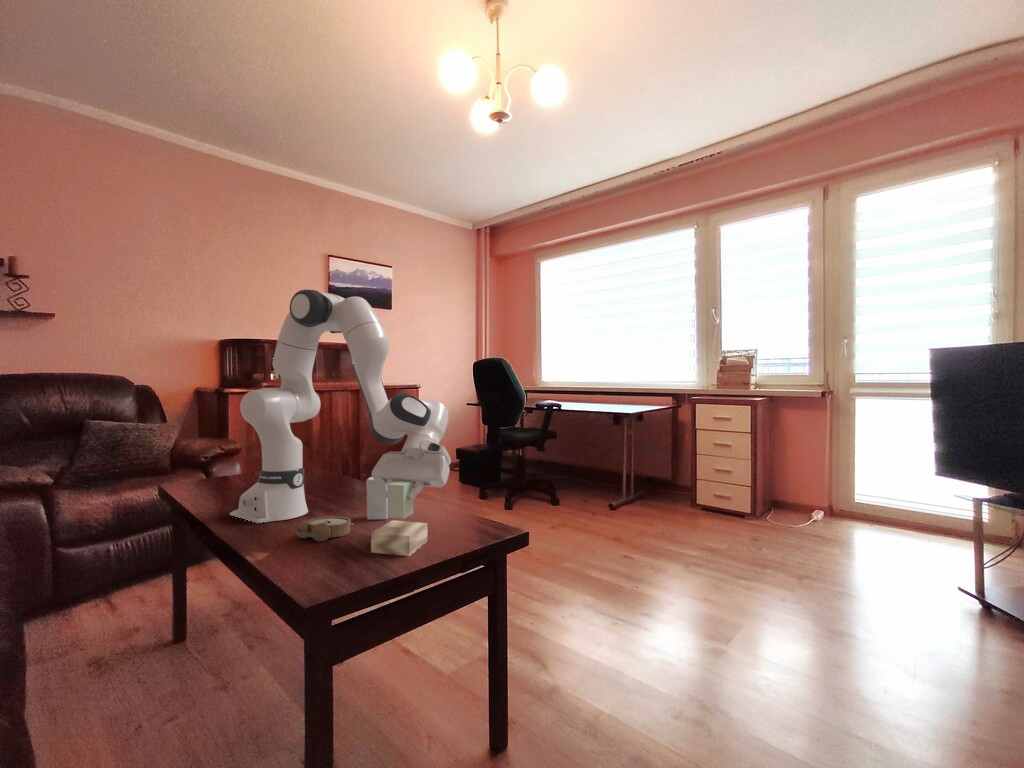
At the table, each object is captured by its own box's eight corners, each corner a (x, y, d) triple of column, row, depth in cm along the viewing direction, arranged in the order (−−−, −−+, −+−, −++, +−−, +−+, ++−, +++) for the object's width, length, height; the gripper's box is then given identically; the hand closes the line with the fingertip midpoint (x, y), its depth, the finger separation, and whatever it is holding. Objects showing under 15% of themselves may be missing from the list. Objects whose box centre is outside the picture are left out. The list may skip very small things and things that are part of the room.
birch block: (371, 553, 106) (371, 532, 106) (391, 539, 116) (392, 520, 116) (409, 557, 104) (409, 536, 104) (427, 542, 114) (427, 523, 114)
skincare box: (390, 515, 136) (390, 476, 136) (386, 520, 132) (387, 479, 132) (370, 515, 136) (370, 476, 136) (365, 520, 131) (366, 479, 131)
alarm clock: (360, 519, 123) (318, 525, 110) (358, 537, 123) (315, 545, 109) (329, 514, 128) (285, 519, 114) (327, 532, 127) (282, 539, 113)
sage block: (387, 517, 108) (387, 484, 108) (397, 512, 113) (397, 480, 113) (403, 518, 107) (403, 485, 107) (413, 513, 111) (413, 481, 111)
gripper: (380, 443, 120) (357, 488, 110) (449, 446, 114) (431, 494, 104) (389, 457, 124) (368, 501, 115) (456, 461, 118) (440, 508, 108)
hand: (399, 498), depth 109 cm, fingers closed on sage block, 4 cm apart
